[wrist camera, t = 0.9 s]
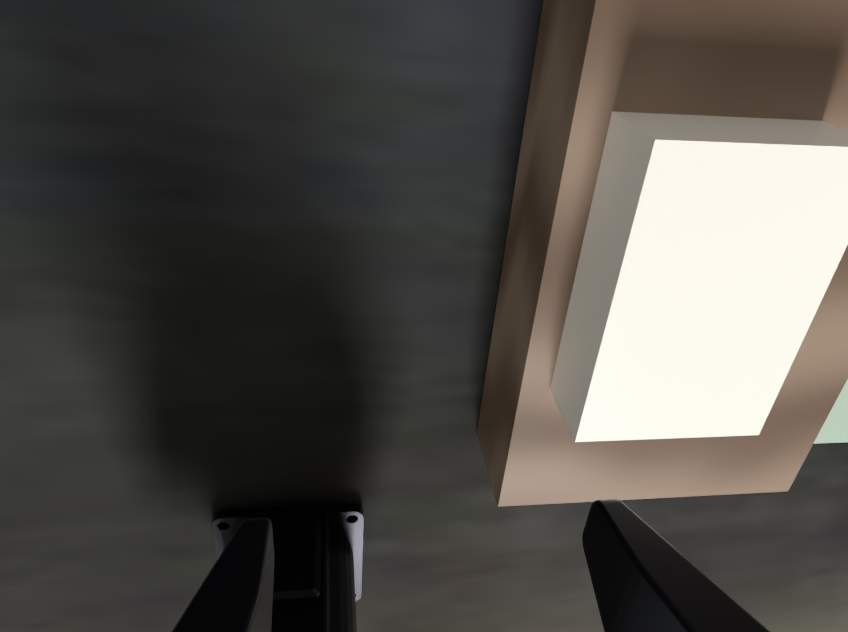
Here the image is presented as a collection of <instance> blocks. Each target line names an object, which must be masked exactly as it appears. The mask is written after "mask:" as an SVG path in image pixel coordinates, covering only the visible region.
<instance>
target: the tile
mask: <svg viewBox="0 0 848 632" xmlns="http://www.w3.org/2000/svg"><path fill="white" fill-rule="evenodd" d="M847 245H848V131H847V130H844V129H842V128H839V127H837V126H834V125H832V124H829V123H826V122H824V121H816V120H793V119H771V118H748V117H726V116H703V115H681V114H659V113H636V112H614V111H612V114H611V118H610V123H609V127H608V132H607V136H606V141H605V145H604V150H603V154H602V159H601V163H600V168H599V172H598V176H597V181H596V185H595V190H594V194H593V199H592V203H591V208H590V212H589V217H588V221H587V226H586V230H585V235H584V239H583V243H582V248H581V252H580V257H579V261H578V266H577V270H576V275H575V279H574V284H573V288H572V293H571V297H570V302H569V306H568V310H567V315H566V319H565V324H564V328H563V333H562V337H561V342H560V346H559V351H558V355H557V360H556V364H555V369H554V373H553V377H552V382H551V386H550V391H551V393H552V395H553V397H554V400H555V402H556V404H557V406H558V408H559V410H560V412H561V414H562V416H563V418H564V420H565V423H566V425H567V427H568V429H569V431H570V433H571V435H572V437H573V439H574V441H575V442H594V441H620V440H646V439H673V438H699V437H725V436H751V435H759V434H760V432H761V430H762V427H763V425H764V423H765V421H766V419H767V417H768V415H769V412H770V410H771V408H772V406H773V404H774V402H775V400H776V397H777V395H778V393H779V391H780V389H781V387H782V385H783V382H784V380H785V378H786V376H787V374H788V372H789V370H790V367H791V365H792V363H793V361H794V359H795V357H796V354H797V352H798V350H799V348H800V346H801V344H802V342H803V339H804V337H805V335H806V333H807V331H808V329H809V327H810V324H811V322H812V320H813V318H814V316H815V314H816V312H817V309H818V307H819V305H820V303H821V301H822V299H823V297H824V294H825V292H826V290H827V288H828V286H829V284H830V282H831V279H832V277H833V275H834V273H835V271H836V269H837V267H838V264H839V262H840V260H841V258H842V256H843V254H844V252H845V249H846V247H847Z"/></svg>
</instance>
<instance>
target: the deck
mask: <svg viewBox="0 0 848 632" xmlns="http://www.w3.org/2000/svg"><path fill="white" fill-rule="evenodd" d="M612 111H614V112H636V113H659V114H681V115H703V116H726V117H748V118H771V119H793V120H816V121H824V122H826V123H829V124H832V125H834V126H837V127H839V128H842V129H844V130H847V131H848V0H543V6H542V12H541V19H540V25H539V32H538V38H537V45H536V51H535V58H534V64H533V71H532V77H531V84H530V90H529V97H528V103H527V110H526V116H525V123H524V129H523V136H522V142H521V149H520V155H519V162H518V168H517V175H516V181H515V188H514V194H513V201H512V207H511V214H510V220H509V227H508V233H507V240H506V246H505V253H504V259H503V266H502V272H501V279H500V285H499V292H498V298H497V305H496V311H495V318H494V324H493V331H492V337H491V344H490V350H489V357H488V363H487V369H486V376H485V382H484V389H483V395H482V402H481V408H480V415H479V421H478V428H477V436H478V440H479V443H480V447H481V450H482V453H483V457H484V460H485V464H486V467H487V471H488V474H489V477H490V481H491V484H492V488H493V491H494V494H495V498H496V501H497V505H498V507H500V506H519V505H537V504H556V503H575V502H594V501H596V500H605V499H617V500H632V499H651V498H669V497H688V496H707V495H726V494H745V493H764V492H782V491H788V490H789V488H790V486H791V485H792V483H793V481H794V479H795V477H796V475H797V473H798V471H799V470H800V468H801V466H802V464H803V462H804V460H805V458H806V456H807V454H808V453H809V451H810V449H811V447H812V445H813V443H814V441H815V439H816V437H817V436H818V434H819V432H820V430H821V428H822V426H823V424H824V422H825V421H826V419H827V417H828V415H829V413H830V411H831V409H832V407H833V405H834V404H835V402H836V400H837V398H838V396H839V394H840V392H841V390H842V389H843V387H844V385H845V383H846V381H847V379H848V245H847V247H846V249H845V252H844V254H843V256H842V258H841V260H840V262H839V264H838V267H837V269H836V271H835V273H834V275H833V277H832V279H831V282H830V284H829V286H828V288H827V290H826V292H825V294H824V297H823V299H822V301H821V303H820V305H819V307H818V309H817V312H816V314H815V316H814V318H813V320H812V322H811V324H810V327H809V329H808V331H807V333H806V335H805V337H804V339H803V342H802V344H801V346H800V348H799V350H798V352H797V354H796V357H795V359H794V361H793V363H792V365H791V367H790V370H789V372H788V374H787V376H786V378H785V380H784V382H783V385H782V387H781V389H780V391H779V393H778V395H777V397H776V400H775V402H774V404H773V406H772V408H771V410H770V412H769V415H768V417H767V419H766V421H765V423H764V425H763V427H762V430H761V432H760V434H759V435H751V436H725V437H699V438H673V439H646V440H620V441H594V442H575V441H574V439H573V437H572V435H571V433H570V431H569V429H568V427H567V425H566V423H565V420H564V418H563V416H562V414H561V412H560V410H559V408H558V406H557V404H556V402H555V400H554V397H553V395H552V393H551V391H550V386H551V382H552V377H553V373H554V369H555V364H556V360H557V355H558V351H559V346H560V342H561V337H562V333H563V328H564V324H565V319H566V315H567V310H568V306H569V302H570V297H571V293H572V288H573V284H574V279H575V275H576V270H577V266H578V261H579V257H580V252H581V248H582V243H583V239H584V235H585V230H586V226H587V221H588V217H589V212H590V208H591V203H592V199H593V194H594V190H595V185H596V181H597V176H598V172H599V168H600V163H601V159H602V154H603V150H604V145H605V141H606V136H607V132H608V127H609V123H610V118H611V114H612Z"/></svg>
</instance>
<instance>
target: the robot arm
mask: <svg viewBox="0 0 848 632" xmlns="http://www.w3.org/2000/svg"><path fill="white" fill-rule="evenodd" d="M351 515H354V516H351ZM222 522H226V523H222ZM363 523H364V516H363V509H362V508H361V507H360V506H358V505H354V504H349V505H329V506H310V507H290V508H270V509H251V510H231V511H220V512H218V513H216V514H215V515H214V516H213V520H212V526H211V528H212V535H213V541H214V548H215V554H216V560H217V561H216V563H215V564H214V566H213V568H212V569H211V571H210V572H209V574H208V575H207V577H206V579H205V580H204V582H203V583H202V585H201V587H200V588H199V590H198V591H197V593H196V594H195V596H194V598H193V599H192V601H191V602H190V604H189V606H188V607H187V609H186V610H185V612H184V613H183V615H182V617H181V618H180V620H179V621H178V623H177V625H176V626H175V628H174V629H173V631H172V632H357V628H356V603H355V601H357V600H359V599H360V597H361V584H362V554H363ZM582 540H583V548H584V552H585V556H586V560H587V564H588V568H589V572H590V576H591V580H592V584H593V588H594V592H595V596H596V600H597V604H598V608H599V612H600V616H601V620H602V624H603V627H604V631H605V632H770V631H769V630H768V629H767V628H766V627H764V626H763V625H762V624H761V623H760V622H759V621H758V620H756V619H755V618H754V617H753V616H752V615H751V614H750V613H748V612H747V611H746V610H745V609H744V608H743V607H742V606H740V605H739V604H738V603H737V602H736V601H735V600H734V599H732V598H731V597H730V596H729V595H728V594H727V593H726V592H724V591H723V590H722V589H721V588H720V587H719V586H718V585H716V584H715V583H714V582H713V581H712V580H711V579H710V578H708V577H707V576H706V575H705V574H704V573H703V572H702V571H700V570H699V569H698V568H697V567H696V566H695V565H694V564H692V563H691V562H690V561H689V560H688V559H687V558H686V557H684V556H683V555H682V554H681V553H680V552H679V551H678V550H676V549H675V548H674V547H673V546H672V545H671V544H670V543H668V542H667V541H666V540H665V539H664V538H663V537H662V536H660V535H659V534H658V533H657V532H656V531H655V530H654V529H652V528H651V527H650V526H649V525H648V524H647V523H646V522H644V521H643V520H642V519H641V518H640V517H639V516H638V515H636V514H635V513H634V512H633V511H632V510H631V509H630V508H628V507H627V506H626V505H625V504H624V503H623V502H621V501H619V500H617V499H605V500H596V501H594V502H593V503H592V505H591V508H590V511H589V514H588V518H587V521H586V524H585V528H584V531H583V537H582Z"/></svg>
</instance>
